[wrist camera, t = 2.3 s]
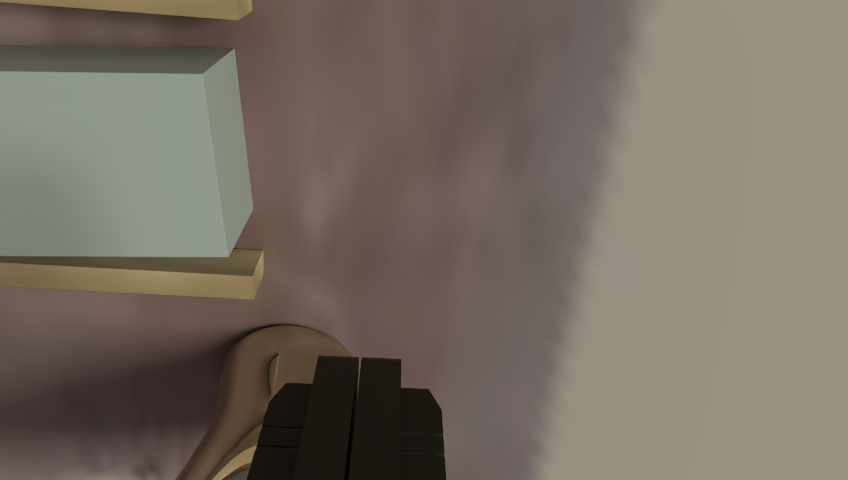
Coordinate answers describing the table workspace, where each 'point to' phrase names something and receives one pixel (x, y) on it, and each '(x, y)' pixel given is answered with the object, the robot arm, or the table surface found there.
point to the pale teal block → (121, 152)
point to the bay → (144, 273)
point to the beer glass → (254, 396)
